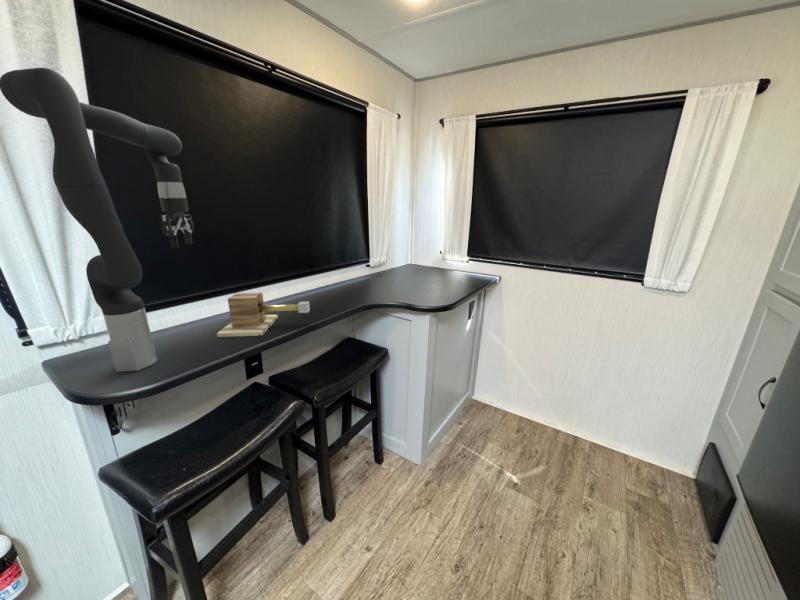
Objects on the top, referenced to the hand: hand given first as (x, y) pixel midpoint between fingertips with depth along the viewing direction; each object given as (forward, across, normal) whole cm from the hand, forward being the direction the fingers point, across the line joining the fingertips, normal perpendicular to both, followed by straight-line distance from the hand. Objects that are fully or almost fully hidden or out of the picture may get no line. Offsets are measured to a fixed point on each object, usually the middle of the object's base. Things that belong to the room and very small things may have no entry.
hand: (182, 245), depth 112 cm
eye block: (+33, -5, +17) cm, 37 cm away
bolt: (+27, -5, +29) cm, 40 cm away
